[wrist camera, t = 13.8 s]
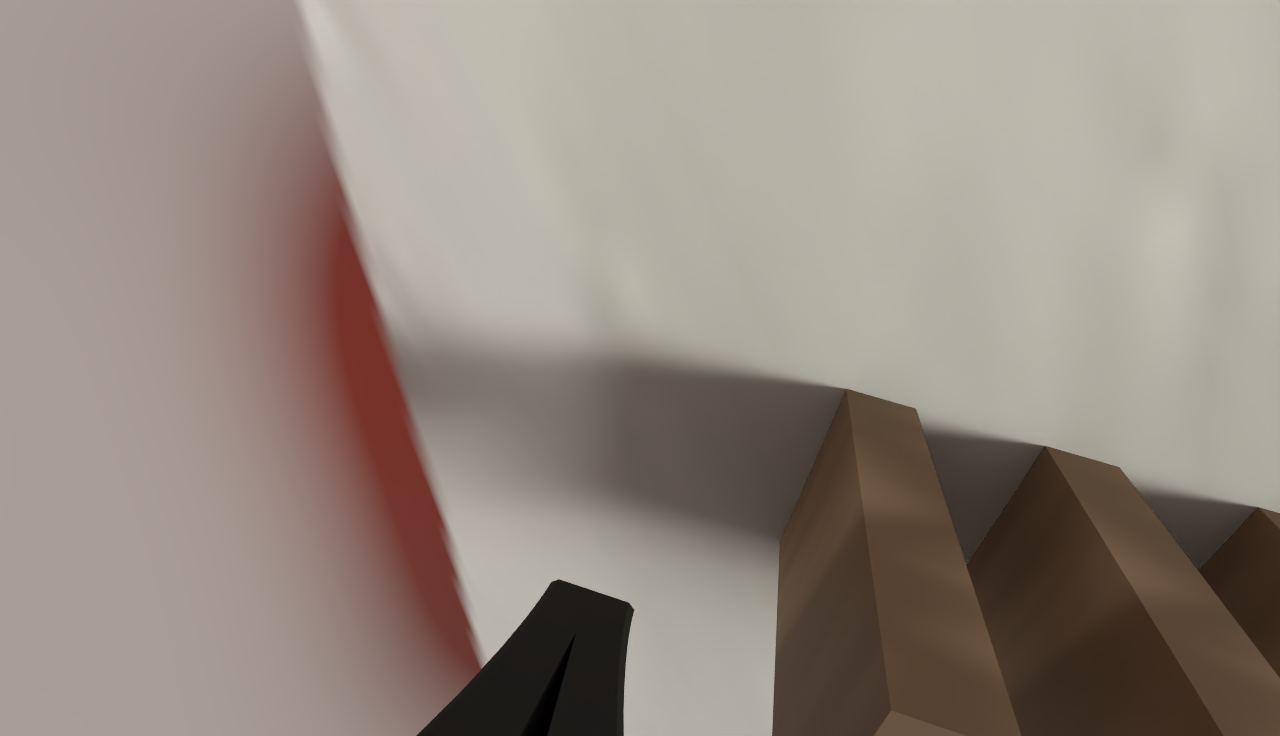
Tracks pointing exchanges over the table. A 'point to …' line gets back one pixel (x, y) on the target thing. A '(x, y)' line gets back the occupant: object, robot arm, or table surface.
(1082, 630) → the domino
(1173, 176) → the table surface
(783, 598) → the domino
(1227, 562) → the domino
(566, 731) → the robot arm
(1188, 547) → the table surface
